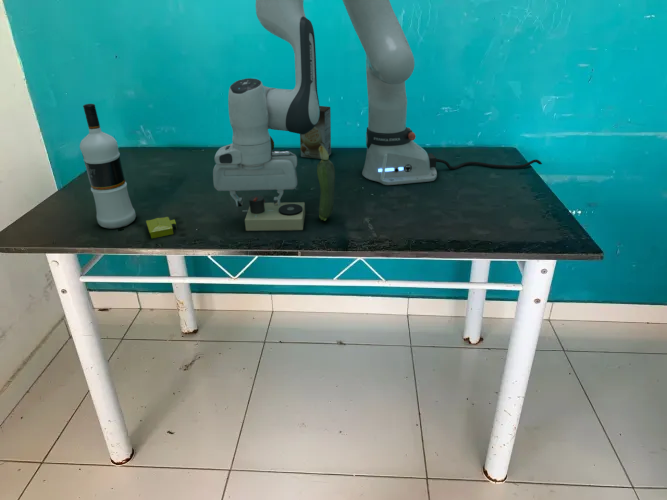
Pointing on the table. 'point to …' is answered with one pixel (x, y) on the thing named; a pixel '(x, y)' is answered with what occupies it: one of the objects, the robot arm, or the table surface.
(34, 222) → the table surface
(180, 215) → the table surface
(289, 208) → the burner
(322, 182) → the vegetable
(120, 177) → the vodka
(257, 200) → the hob knob
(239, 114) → the robot arm
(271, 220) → the hot plate
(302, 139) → the coffee box
